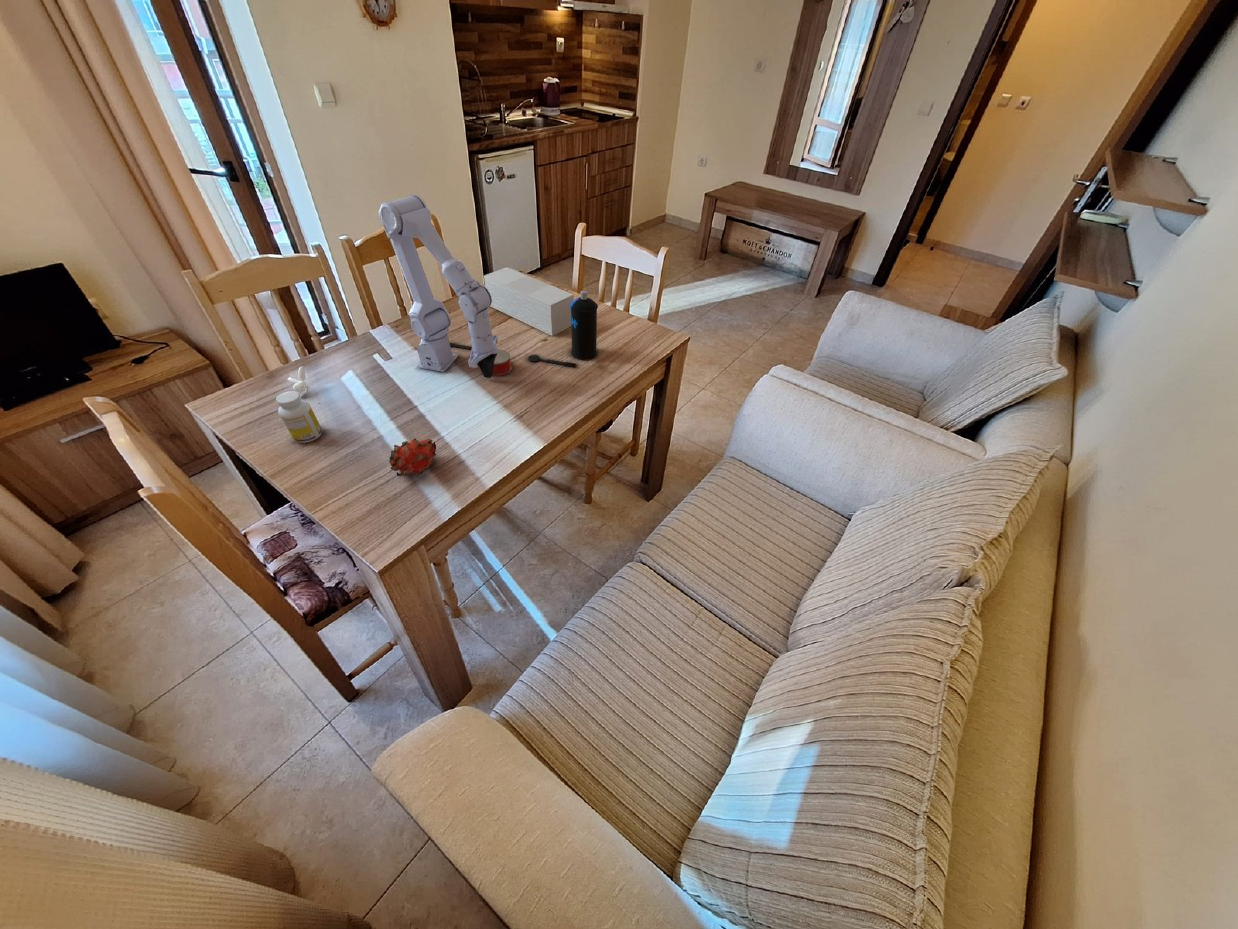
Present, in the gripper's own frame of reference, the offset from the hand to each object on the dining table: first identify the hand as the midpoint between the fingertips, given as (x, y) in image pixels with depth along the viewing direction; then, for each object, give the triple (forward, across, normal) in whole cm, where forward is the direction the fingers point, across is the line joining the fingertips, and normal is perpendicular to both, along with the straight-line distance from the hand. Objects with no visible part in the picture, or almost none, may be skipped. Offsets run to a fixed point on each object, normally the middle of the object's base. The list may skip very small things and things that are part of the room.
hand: (488, 376), depth 136 cm
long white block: (+2, +42, +3) cm, 42 cm away
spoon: (+2, +15, -14) cm, 20 cm away
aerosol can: (+2, +23, -22) cm, 32 cm away
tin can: (+2, +7, 0) cm, 7 cm away
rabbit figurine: (+2, -18, +46) cm, 49 cm away
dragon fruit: (+2, -37, +1) cm, 37 cm away
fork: (+2, +15, +14) cm, 20 cm away
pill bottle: (+2, -34, +32) cm, 47 cm away
